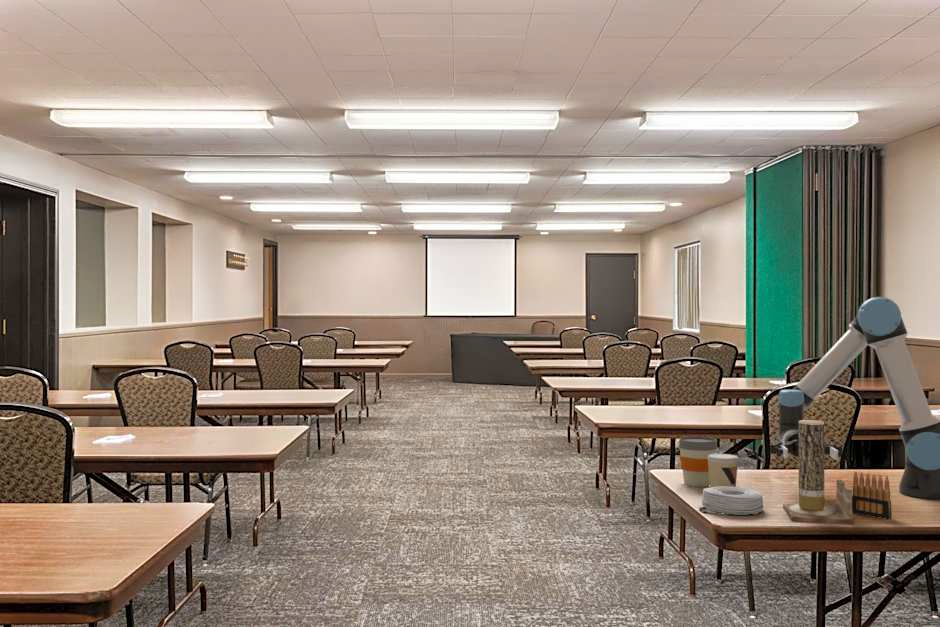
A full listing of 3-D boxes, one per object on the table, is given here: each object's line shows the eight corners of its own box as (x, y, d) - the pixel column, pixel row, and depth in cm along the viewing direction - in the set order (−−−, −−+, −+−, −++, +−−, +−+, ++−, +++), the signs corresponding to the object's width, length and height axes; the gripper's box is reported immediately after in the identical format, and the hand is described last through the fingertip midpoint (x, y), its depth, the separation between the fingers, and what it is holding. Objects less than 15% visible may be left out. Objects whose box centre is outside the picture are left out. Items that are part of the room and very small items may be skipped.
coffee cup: (727, 498, 257) (727, 459, 257) (701, 493, 265) (701, 455, 265) (743, 494, 263) (743, 456, 263) (718, 489, 271) (718, 452, 271)
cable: (696, 513, 239) (696, 492, 239) (706, 501, 255) (706, 481, 255) (760, 520, 232) (760, 498, 232) (766, 506, 248) (766, 486, 248)
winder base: (841, 510, 241) (841, 479, 241) (853, 524, 226) (853, 490, 226) (783, 507, 245) (783, 476, 245) (791, 521, 229) (791, 487, 229)
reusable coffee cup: (672, 480, 284) (672, 437, 284) (706, 479, 287) (706, 436, 287) (689, 488, 272) (688, 442, 272) (724, 486, 274) (724, 441, 274)
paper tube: (820, 506, 239) (819, 419, 239) (827, 512, 232) (827, 423, 232) (795, 505, 239) (795, 419, 239) (802, 511, 233) (802, 422, 233)
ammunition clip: (850, 512, 239) (850, 471, 239) (853, 511, 240) (853, 470, 240) (888, 519, 231) (888, 476, 231) (891, 518, 232) (891, 476, 232)
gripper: (839, 456, 256) (857, 469, 235) (755, 453, 261) (765, 466, 240) (839, 432, 256) (857, 442, 235) (755, 430, 261) (765, 440, 240)
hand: (811, 454), depth 238 cm, fingers open, 13 cm apart
